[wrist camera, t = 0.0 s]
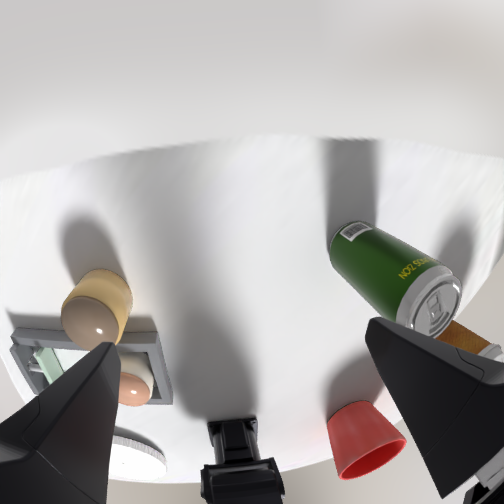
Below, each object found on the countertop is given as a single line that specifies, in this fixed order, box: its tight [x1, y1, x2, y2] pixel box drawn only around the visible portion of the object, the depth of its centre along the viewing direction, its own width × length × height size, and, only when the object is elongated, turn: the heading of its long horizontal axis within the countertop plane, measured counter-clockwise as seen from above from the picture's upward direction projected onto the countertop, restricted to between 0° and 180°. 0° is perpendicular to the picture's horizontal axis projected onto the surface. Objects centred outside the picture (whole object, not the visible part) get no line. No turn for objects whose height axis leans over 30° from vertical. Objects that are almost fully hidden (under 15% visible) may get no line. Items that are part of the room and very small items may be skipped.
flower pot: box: [327, 401, 406, 480], centre depth 31 cm, size 11×11×10 cm
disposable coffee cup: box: [435, 320, 504, 362], centre depth 27 cm, size 10×10×12 cm
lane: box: [10, 328, 173, 405], centre depth 24 cm, size 9×18×3 cm, turn 90°
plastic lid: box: [109, 435, 167, 480], centre depth 31 cm, size 14×14×2 cm
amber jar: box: [61, 269, 133, 351], centre depth 20 cm, size 6×6×5 cm
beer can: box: [329, 221, 462, 338], centre depth 19 cm, size 5×5×12 cm
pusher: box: [26, 347, 63, 384], centre depth 22 cm, size 6×6×3 cm
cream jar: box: [118, 352, 154, 406], centre depth 24 cm, size 5×5×4 cm
